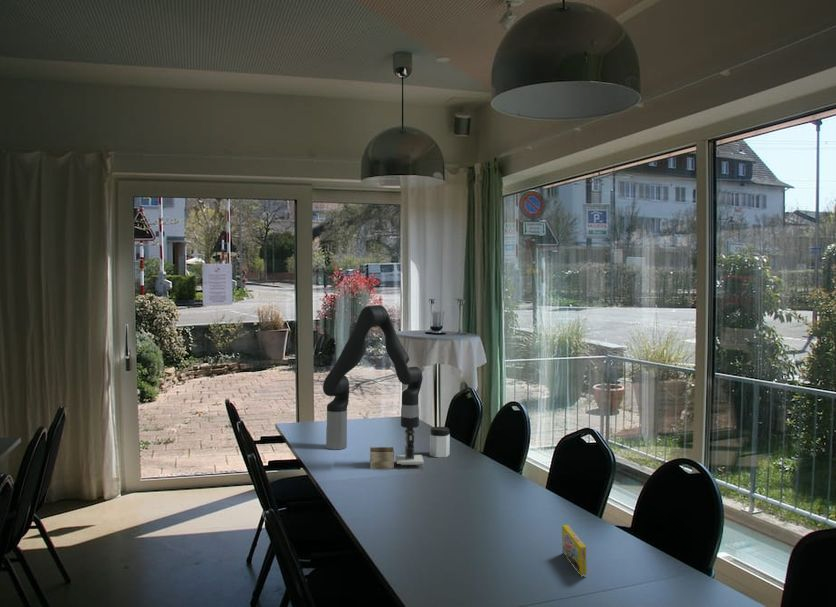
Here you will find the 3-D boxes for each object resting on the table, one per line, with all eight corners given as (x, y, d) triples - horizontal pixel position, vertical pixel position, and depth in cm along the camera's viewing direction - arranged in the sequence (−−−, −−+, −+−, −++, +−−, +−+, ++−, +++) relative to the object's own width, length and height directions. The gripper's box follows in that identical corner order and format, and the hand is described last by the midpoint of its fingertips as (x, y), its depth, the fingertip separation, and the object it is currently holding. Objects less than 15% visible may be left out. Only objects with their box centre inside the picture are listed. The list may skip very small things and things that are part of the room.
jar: (453, 455, 307) (453, 429, 306) (439, 458, 302) (439, 431, 301) (439, 452, 314) (440, 425, 313) (426, 454, 308) (426, 427, 308)
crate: (370, 469, 283) (370, 452, 282) (370, 463, 292) (370, 447, 292) (393, 469, 283) (394, 452, 283) (392, 463, 293) (393, 447, 293)
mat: (397, 470, 282) (397, 469, 282) (396, 462, 295) (396, 461, 295) (423, 470, 282) (423, 469, 282) (420, 462, 295) (420, 460, 295)
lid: (396, 466, 283) (397, 449, 282) (395, 459, 294) (395, 443, 293) (423, 465, 283) (423, 449, 283) (421, 459, 294) (421, 443, 294)
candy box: (561, 553, 198) (561, 524, 198) (568, 553, 198) (569, 524, 198) (579, 577, 182) (579, 546, 181) (587, 577, 182) (587, 546, 182)
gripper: (400, 411, 295) (399, 452, 295) (401, 418, 281) (401, 460, 281) (417, 411, 295) (417, 451, 296) (420, 418, 281) (419, 460, 282)
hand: (409, 456), depth 288 cm, fingers open, 3 cm apart
